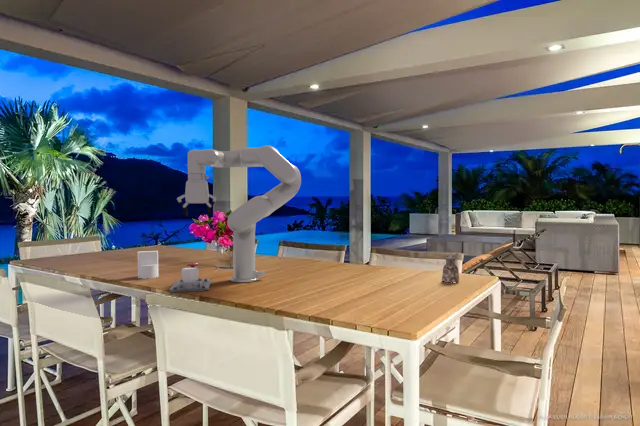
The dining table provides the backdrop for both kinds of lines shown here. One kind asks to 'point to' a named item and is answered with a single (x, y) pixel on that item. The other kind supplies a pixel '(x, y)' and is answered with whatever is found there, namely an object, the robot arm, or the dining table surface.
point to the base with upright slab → (147, 264)
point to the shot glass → (190, 274)
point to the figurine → (450, 270)
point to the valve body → (191, 283)
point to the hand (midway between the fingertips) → (197, 216)
